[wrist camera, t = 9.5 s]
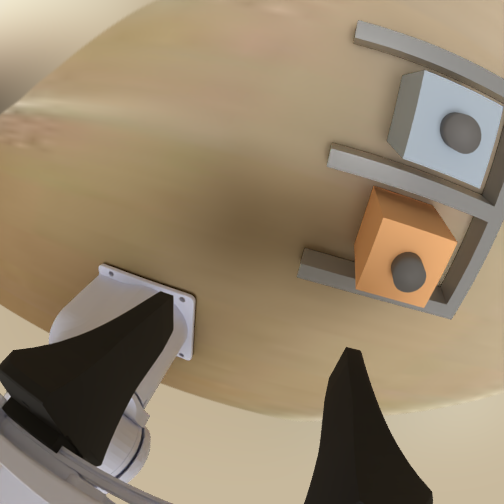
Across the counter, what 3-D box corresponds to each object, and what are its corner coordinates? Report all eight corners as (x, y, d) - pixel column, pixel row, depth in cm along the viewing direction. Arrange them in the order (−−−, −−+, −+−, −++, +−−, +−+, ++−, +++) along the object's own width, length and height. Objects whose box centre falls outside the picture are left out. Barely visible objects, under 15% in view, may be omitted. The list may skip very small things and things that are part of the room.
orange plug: (354, 243, 19) (355, 301, 14) (373, 185, 17) (385, 226, 12) (410, 260, 19) (427, 320, 14) (432, 205, 17) (463, 252, 12)
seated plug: (386, 141, 16) (407, 163, 11) (402, 75, 14) (431, 68, 9) (447, 163, 15) (488, 196, 10) (464, 100, 13) (513, 108, 8)
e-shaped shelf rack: (301, 260, 21) (296, 277, 19) (356, 27, 13) (357, 20, 12) (445, 301, 19) (451, 319, 18) (523, 99, 12) (539, 101, 10)
